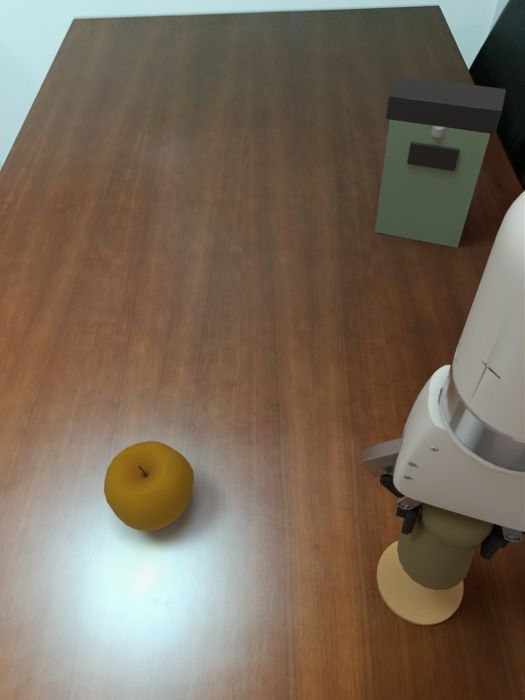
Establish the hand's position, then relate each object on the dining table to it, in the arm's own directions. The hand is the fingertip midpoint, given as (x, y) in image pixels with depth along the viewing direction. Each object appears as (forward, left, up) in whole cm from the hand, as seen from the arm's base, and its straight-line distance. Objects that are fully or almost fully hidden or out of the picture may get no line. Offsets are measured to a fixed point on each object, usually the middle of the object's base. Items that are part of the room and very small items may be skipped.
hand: (447, 527), depth 45 cm
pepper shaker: (0, 0, -6) cm, 6 cm away
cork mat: (0, 0, -14) cm, 14 cm away
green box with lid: (+9, -50, -14) cm, 53 cm away
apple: (+27, +1, -14) cm, 30 cm away
